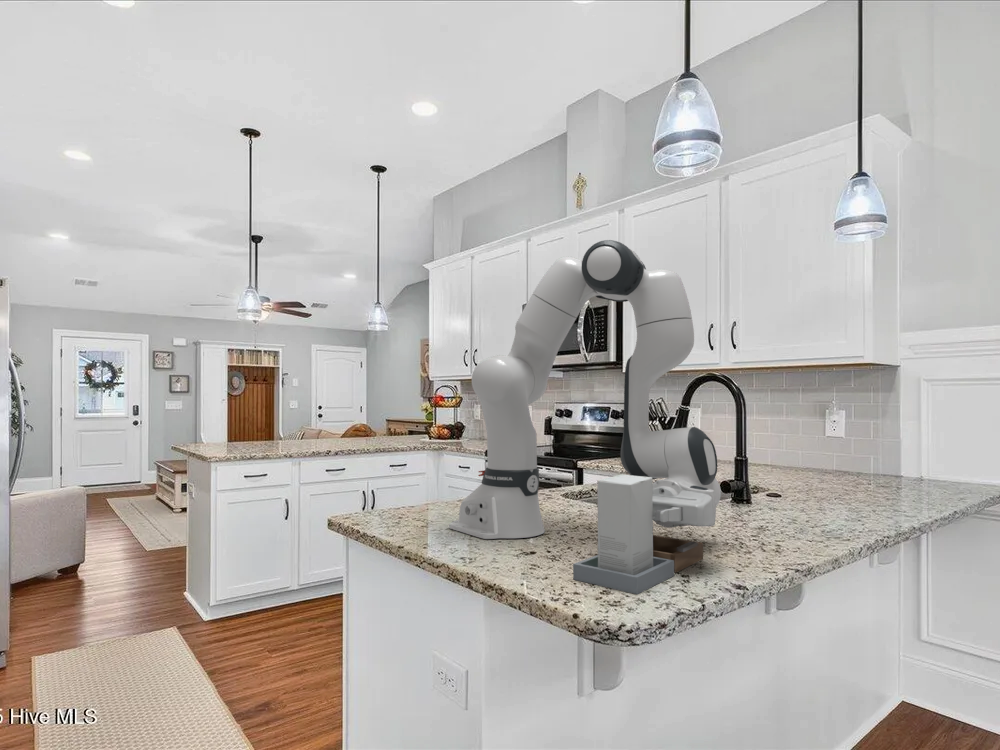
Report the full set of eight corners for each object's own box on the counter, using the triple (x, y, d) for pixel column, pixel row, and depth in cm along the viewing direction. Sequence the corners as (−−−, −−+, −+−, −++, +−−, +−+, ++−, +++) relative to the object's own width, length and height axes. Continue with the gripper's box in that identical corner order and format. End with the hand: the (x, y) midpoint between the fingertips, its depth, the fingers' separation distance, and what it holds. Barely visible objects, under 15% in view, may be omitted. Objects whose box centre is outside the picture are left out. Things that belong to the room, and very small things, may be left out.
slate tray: (573, 579, 98) (573, 563, 98) (613, 563, 107) (613, 549, 108) (637, 594, 90) (636, 577, 90) (674, 575, 100) (674, 560, 100)
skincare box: (621, 564, 104) (620, 473, 105) (656, 571, 100) (655, 476, 100) (596, 574, 98) (594, 478, 98) (632, 582, 93) (631, 482, 94)
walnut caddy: (618, 561, 108) (618, 541, 108) (649, 549, 117) (649, 531, 117) (676, 573, 101) (675, 551, 101) (704, 559, 110) (703, 539, 110)
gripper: (620, 480, 119) (581, 488, 109) (723, 490, 106) (689, 500, 95) (621, 512, 119) (582, 524, 109) (724, 526, 105) (690, 540, 95)
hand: (633, 513), depth 102 cm, fingers open, 8 cm apart
